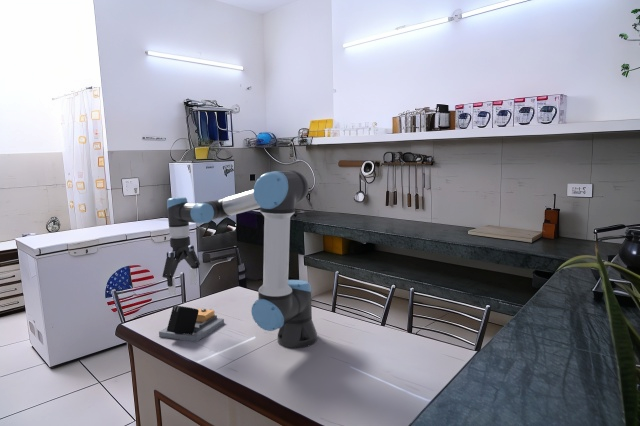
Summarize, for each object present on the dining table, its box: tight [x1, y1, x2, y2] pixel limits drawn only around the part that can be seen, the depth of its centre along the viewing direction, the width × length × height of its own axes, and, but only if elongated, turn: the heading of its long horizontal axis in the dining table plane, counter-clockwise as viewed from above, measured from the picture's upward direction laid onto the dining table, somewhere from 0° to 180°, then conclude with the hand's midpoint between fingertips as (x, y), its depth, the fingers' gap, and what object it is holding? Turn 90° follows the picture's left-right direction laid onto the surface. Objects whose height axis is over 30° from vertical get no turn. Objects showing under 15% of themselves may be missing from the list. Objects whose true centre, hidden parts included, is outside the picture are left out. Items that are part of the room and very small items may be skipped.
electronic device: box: [166, 304, 199, 335], centre depth 163 cm, size 4×10×10 cm, turn 148°
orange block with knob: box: [196, 308, 216, 322], centre depth 176 cm, size 8×6×4 cm
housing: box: [158, 314, 225, 343], centre depth 170 cm, size 18×19×3 cm
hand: (183, 288), depth 164 cm, fingers open, 13 cm apart
